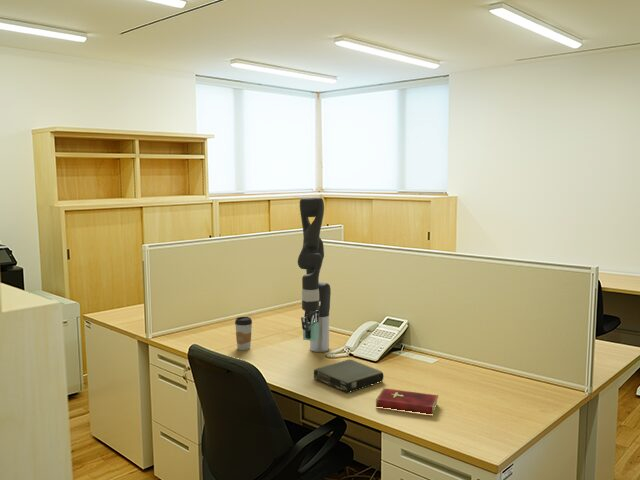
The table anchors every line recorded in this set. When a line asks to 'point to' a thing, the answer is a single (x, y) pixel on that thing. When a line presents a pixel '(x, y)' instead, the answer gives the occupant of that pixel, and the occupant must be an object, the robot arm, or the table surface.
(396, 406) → the hardcover book
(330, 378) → the network switch
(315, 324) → the teal block
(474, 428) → the table surface
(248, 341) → the coffee cup
